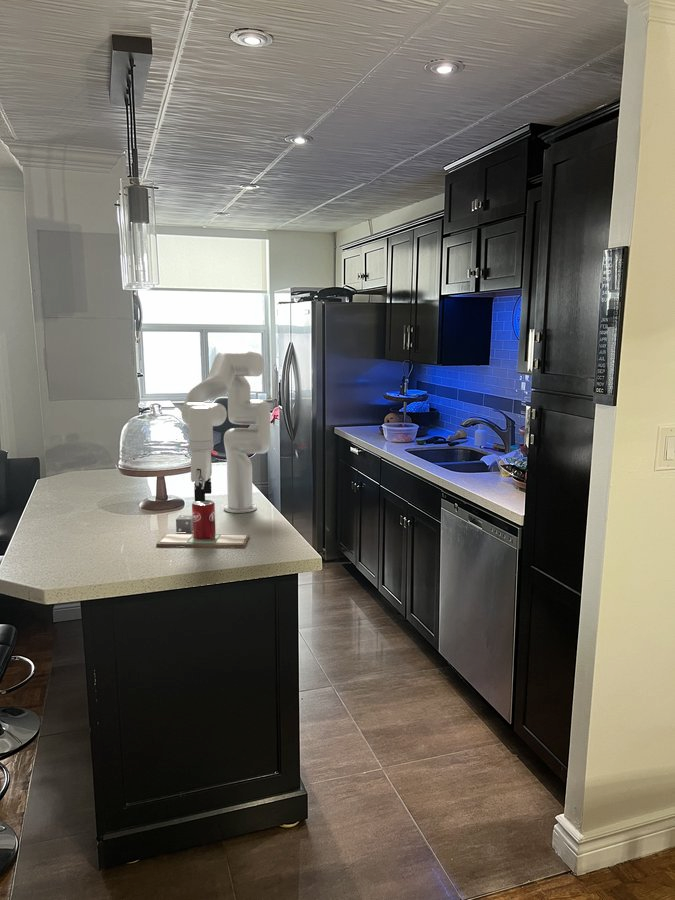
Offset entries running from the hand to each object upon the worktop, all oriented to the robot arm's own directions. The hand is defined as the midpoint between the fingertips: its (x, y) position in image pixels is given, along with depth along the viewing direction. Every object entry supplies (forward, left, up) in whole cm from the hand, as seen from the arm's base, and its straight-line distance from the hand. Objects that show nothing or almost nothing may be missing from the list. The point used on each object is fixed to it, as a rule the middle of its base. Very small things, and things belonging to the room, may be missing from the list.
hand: (203, 497), depth 215 cm
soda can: (0, 0, -14) cm, 14 cm away
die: (-11, -9, -15) cm, 21 cm away
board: (+1, 0, -15) cm, 15 cm away
